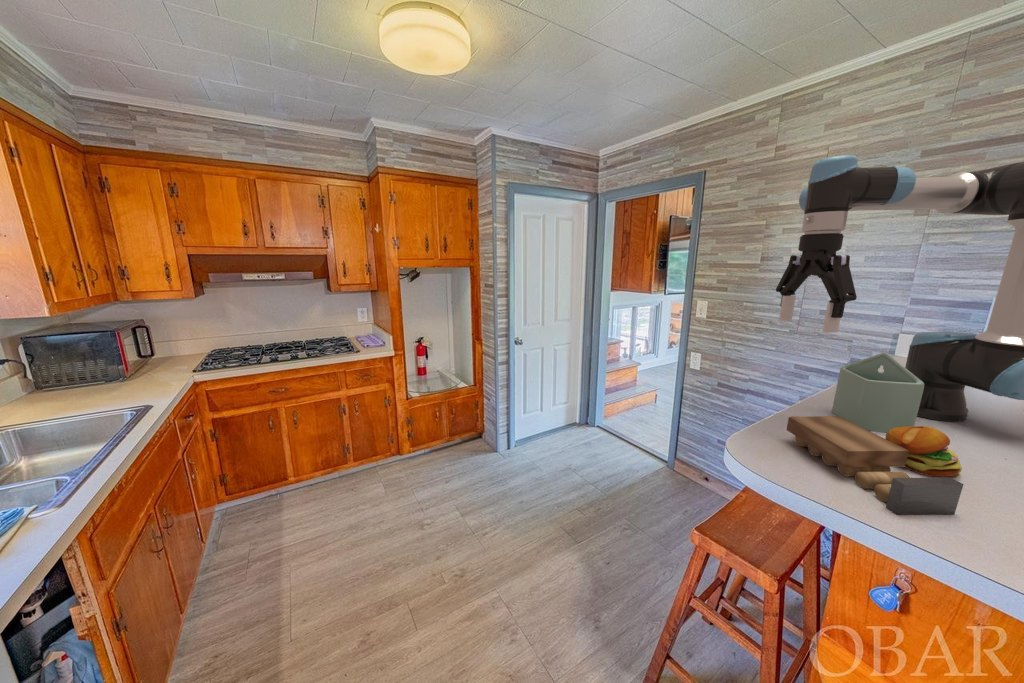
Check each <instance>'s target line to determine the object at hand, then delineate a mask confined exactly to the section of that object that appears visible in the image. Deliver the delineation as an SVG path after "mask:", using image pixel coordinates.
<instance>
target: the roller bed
mask: <svg viewBox="0 0 1024 683" xmlns="http://www.w3.org/2000/svg"><path fill="white" fill-rule="evenodd" d="M794 437H795V438H794V439H795V443H796V445H797V446H799V447H807V449H808V452H809V453H810V454H811V455H813V456H821V457H822V460H823V462H824V464H826V466H827V465H828V466H837V469H838V471H839V473H840V474H841V475H842V476H844V477H854V480H855V482H856V484H857V485H858V486H859V487H860V488H862V489H873V490H874V494H875V496H876V498H877V499H878V500H880V501H881V502H884V503H887V500H888V496H889V492H890V488H891V484H892V480H893V478H911V476H910V475H909V474H908V473H907V472H904V471H892V470H891V467H843V466H842V465H840V464H839V463H837V462H836V461H834V460H833V459H831V458H829V457H828V456H826V455H825V454H823V453H822V452H820V451H818V450H817V449H815V448H814V447H812V446H811V445H809V444H808V443H806V442H804V441H803V440H801V439H800V438H798V437H797V436H795V435H794Z"/></svg>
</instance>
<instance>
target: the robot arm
mask: <svg viewBox="0 0 1024 683" xmlns="http://www.w3.org/2000/svg"><path fill="white" fill-rule="evenodd" d="M807 184H808V185H807V186H806V187H805V188H803V190H802V191H801V192H800V194H799V198H798V204H799V207H800V209H801V210H802V211H803V212H804V214H803V220H802V226H801V233H804V234H802V235H801V236H799V243H798V248H797V249H798V251H799V252H802V253H801V254H800V255H799V254H792V255H791V256H790V258H789V262H788V264H787V267H786V269H785V271H784V273H783V274H782V276H781V278H780V279H779V280H780V281H779V282H778V284H777V285H776V288H775V292H776V293H780V295H781V298H780V299H781V300H780V310H779V317H778V322H783V323H785V322H788V323H789V322H792V321H793V316H794V310H795V309H794V308H795V304H796V297H797V296H796V291H797V290H798V289H799V288H800V287H801V285H803V284H804V282H805V281H806V280H807V279H808V278H809V277H811V276H817V278H819V279H821V282H822V283H823V286H824V288H825V289H826V292H827V294H828V296H829V298H830V300H828V302H827V305H826V310H825V316H824V321H823V327H822V331H821V332H822V333H826V334H827V333H830V334H831V333H838V332H839V327H840V322H841V319H842V318H843V316H844V312H845V307H846V303H848V302H852V301H856V300H857V298H858V297H857V294H856V288H855V284H854V280H853V276H852V273H851V268H850V262H851V261H850V259H851V256H850V255H849V254H840V255H838V254H837V252H838V251H841V249H842V246H843V241H844V237H845V236H844V234H843V233H841V232H843V231H845V230H846V227H847V222H848V221H847V220H848V214H849V211H850V212H851V211H857V212H858V211H904V210H905V211H906V210H907V211H908V210H909V211H914V210H915V211H917V210H921V211H922V210H935V211H937V212H938V213H941V214H962V215H979V216H980V215H981V216H982V215H983V216H1007V215H1008V217H1007V223H1008V224H1009V225H1011V227H1014V229H1015V231H1014V233H1013V238H1012V241H1011V244H1010V247H1009V251H1008V254H1007V258H1006V261H1005V266H1004V268H1003V272H1002V276H1001V278H1000V283H999V285H998V289H997V294H996V296H995V299H994V303H993V306H992V309H991V313H990V318H989V320H988V324H987V328H986V330H985V331H983V332H981V333H978V334H976V333H970V332H969V333H968V332H957V331H956V332H955V331H954V332H953V331H952V332H951V331H920V332H918V333H916V334H914V335H913V337H912V340H911V343H910V344H909V348H908V352H907V353H908V354H907V358H906V363H905V366H904V367H905V368H906V369H907V370H908V371H910V372H911V373H912V374H913V375H915V376H916V377H917V378H918V379H920V380H921V381H922V382H923V383H924V390H923V394H922V398H921V402H920V406H919V410H918V413H917V417H919V418H920V417H921V418H924V419H929V420H935V421H943V422H963V421H966V420H967V418H968V415H969V409H968V407H967V401H966V395H965V387H969V388H973V389H975V390H976V389H977V390H979V391H983V392H986V393H990V394H992V395H994V396H997V397H1005V398H1008V399H1012V400H1013V399H1014V400H1017V401H1018V400H1019V401H1024V161H1021V162H1014V163H1009V164H1005V165H1001V166H995V167H991V168H985V169H981V170H975V171H961V172H957V173H952V174H950V175H948V176H937V177H936V176H930V177H927V176H926V177H924V176H923V177H917V174H916V173H915V171H914V170H913V169H911V168H909V167H906V166H896V165H892V166H879V167H878V166H875V167H874V166H872V167H860V166H859V164H858V157H857V156H856V155H852V154H842V155H835V156H829V157H825V158H822V159H819V160H817V161H816V162H814V164H813V165H812V168H811V170H810V174H809V179H808V182H807Z"/></svg>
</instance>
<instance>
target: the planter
mask: <svg viewBox="0 0 1024 683" xmlns="http://www.w3.org/2000/svg"><path fill="white" fill-rule="evenodd" d="M881 366H882V367H883V368H882V369H883V371H882V372H881V371H879V369H880V368H881ZM923 390H924V383H923V382H922V381H921V380H920V379H918V378H917V377H916V376H915V375H913V374H912V373H911V372H910V371H908V370H907V369H906V368H905V366H903V365H902V364H901V363H900V362H898V360H896V359H894V358H893V356H891V355H890V354H889V353H887V352H886V351H883V352H880V353H877V354H874V355H871V356H869V357H866V358H863V359H860V360H857V361H854V362H851V363H849V364H844V365H842V366H841V367H840V368H839V373H838V378H837V384H836V388H835V393H834V399H833V403H832V408H831V413H832V414H834V416H840V417H842V418H844V419H846V420H848V421H850V422H852V423H854V424H856V425H858V426H860V427H862V428H864V429H866V430H868V431H870V432H873V433H874V432H875V433H885V434H887V433H888V431H889V430H891V429H893V428H897V427H914V426H916V420H917V418H918V416H917V413H918V410H919V406H920V402H921V398H922V394H923Z"/></svg>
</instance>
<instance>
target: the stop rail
mask: <svg viewBox="0 0 1024 683" xmlns="http://www.w3.org/2000/svg"><path fill="white" fill-rule="evenodd" d="M963 488H964V483H963V482H960V481H958V480H956V479H954V478H953V477H951V476H944V477H943V476H935V477H910V478H893V480H892V484H891V488H890V492H889V496H888V500H887V502H886V504H885V508H886V509H887V510H889V511H891V512H892V513H893V514H895V515H896V516H901V515H902V516H912V515H914V516H922V515H923V516H925V515H926V516H927V515H928V516H930V515H931V516H933V515H934V516H935V515H936V516H937V515H939V516H940V515H941V516H943V515H955V514H956V510H957V507H958V504H959V501H960V497H961V494H962V491H963Z"/></svg>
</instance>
